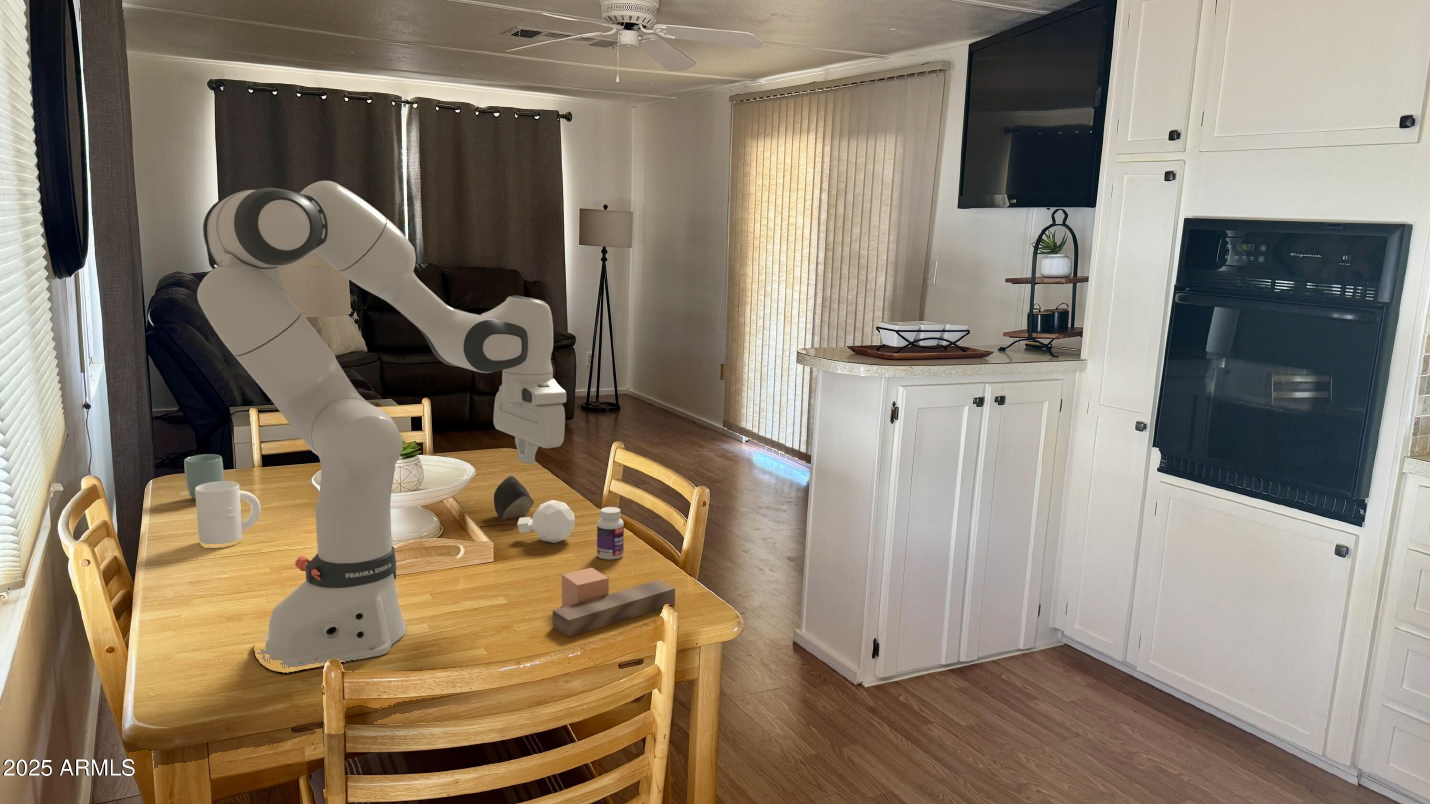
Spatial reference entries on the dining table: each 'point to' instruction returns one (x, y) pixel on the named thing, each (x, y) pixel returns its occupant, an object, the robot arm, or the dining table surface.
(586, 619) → the board
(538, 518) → the perfume bottle
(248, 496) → the mug
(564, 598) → the block
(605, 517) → the pill bottle
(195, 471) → the cup
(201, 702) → the dining table surface
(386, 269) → the robot arm
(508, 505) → the stone
